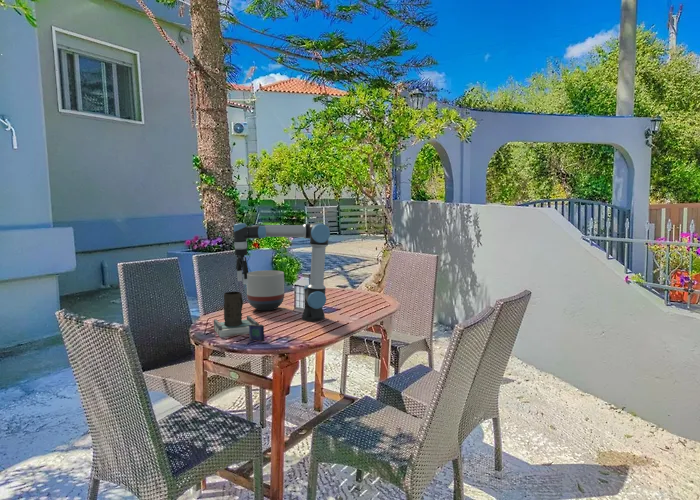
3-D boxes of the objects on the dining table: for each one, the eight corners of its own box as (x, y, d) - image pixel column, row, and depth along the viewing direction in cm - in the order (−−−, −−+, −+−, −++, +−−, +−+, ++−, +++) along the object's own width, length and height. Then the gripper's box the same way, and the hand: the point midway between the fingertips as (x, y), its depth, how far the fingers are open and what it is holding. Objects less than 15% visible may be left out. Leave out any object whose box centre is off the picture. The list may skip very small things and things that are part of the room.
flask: (248, 340, 276) (248, 321, 275) (251, 338, 279) (250, 320, 278) (263, 341, 274) (262, 323, 273) (265, 340, 276) (265, 321, 275)
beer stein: (237, 327, 288) (237, 293, 287) (220, 326, 290) (220, 293, 289) (247, 322, 303) (247, 290, 302) (231, 321, 305) (231, 290, 304)
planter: (274, 315, 336) (273, 276, 333) (240, 312, 345) (239, 275, 342) (290, 306, 361) (290, 271, 359) (259, 304, 370) (258, 269, 367)
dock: (257, 332, 292) (256, 322, 291) (220, 337, 282) (219, 326, 281) (249, 325, 310) (248, 315, 309) (213, 329, 300) (213, 319, 299)
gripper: (230, 247, 307) (231, 280, 309) (240, 250, 285) (241, 286, 287) (241, 246, 310) (243, 279, 313) (252, 249, 288) (254, 284, 290)
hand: (242, 282), depth 300 cm, fingers open, 13 cm apart
